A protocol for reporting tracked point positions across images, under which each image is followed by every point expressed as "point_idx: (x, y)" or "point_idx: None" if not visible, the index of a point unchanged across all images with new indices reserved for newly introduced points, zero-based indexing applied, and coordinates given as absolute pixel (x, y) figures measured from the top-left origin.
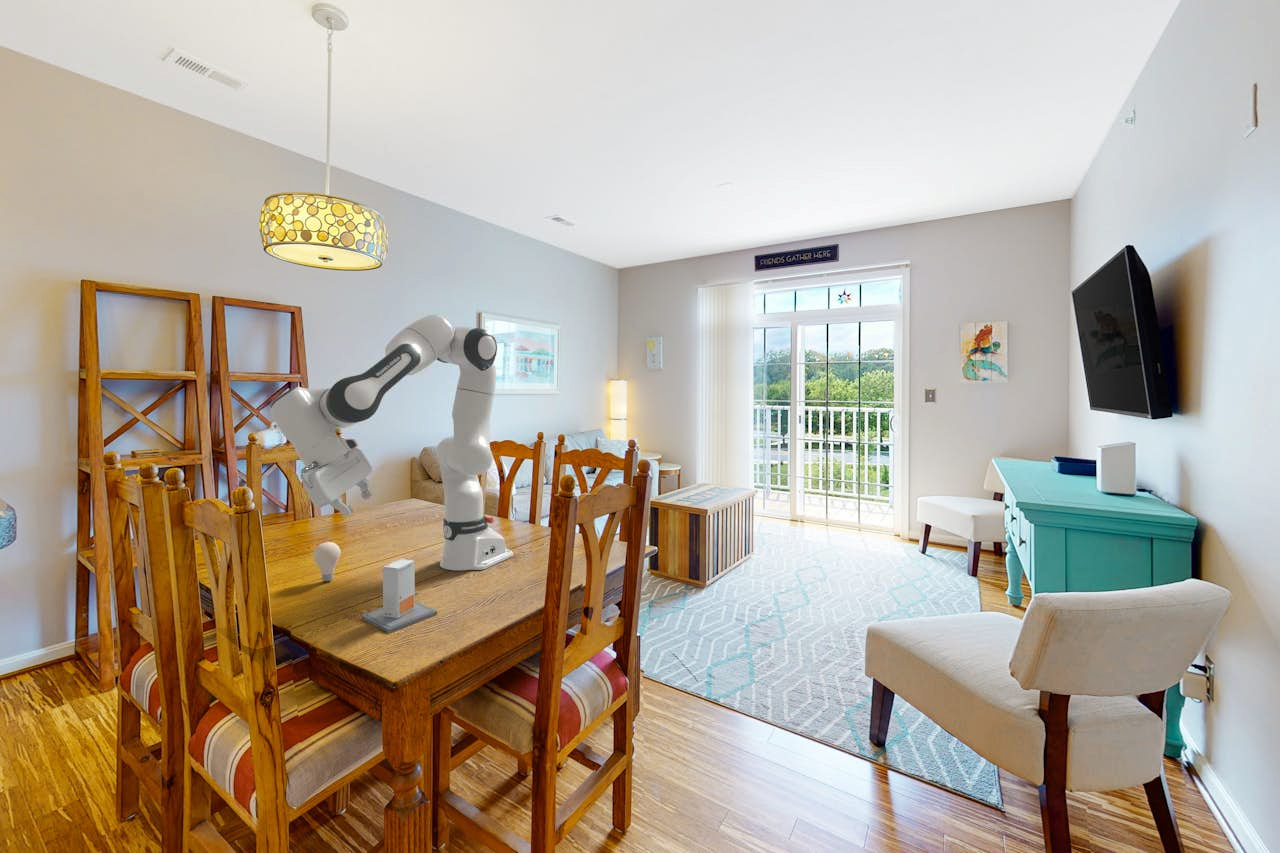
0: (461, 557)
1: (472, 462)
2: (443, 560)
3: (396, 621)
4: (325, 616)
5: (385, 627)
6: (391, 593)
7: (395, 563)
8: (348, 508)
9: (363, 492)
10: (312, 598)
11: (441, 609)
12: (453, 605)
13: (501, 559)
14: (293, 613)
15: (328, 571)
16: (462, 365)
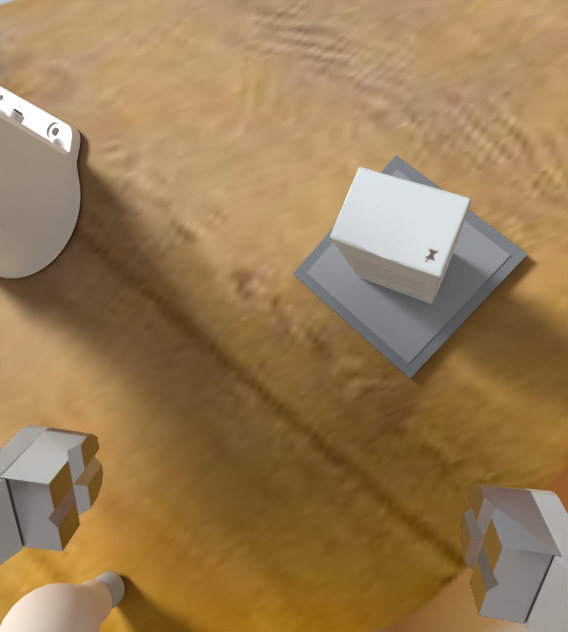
0: (43, 183)
1: None
2: (31, 253)
3: (470, 250)
4: (385, 495)
5: (511, 269)
6: (451, 256)
7: (396, 235)
8: (555, 530)
9: (28, 528)
10: (244, 585)
11: (361, 159)
12: (334, 134)
13: (17, 95)
14: (354, 604)
15: (106, 595)
16: None
